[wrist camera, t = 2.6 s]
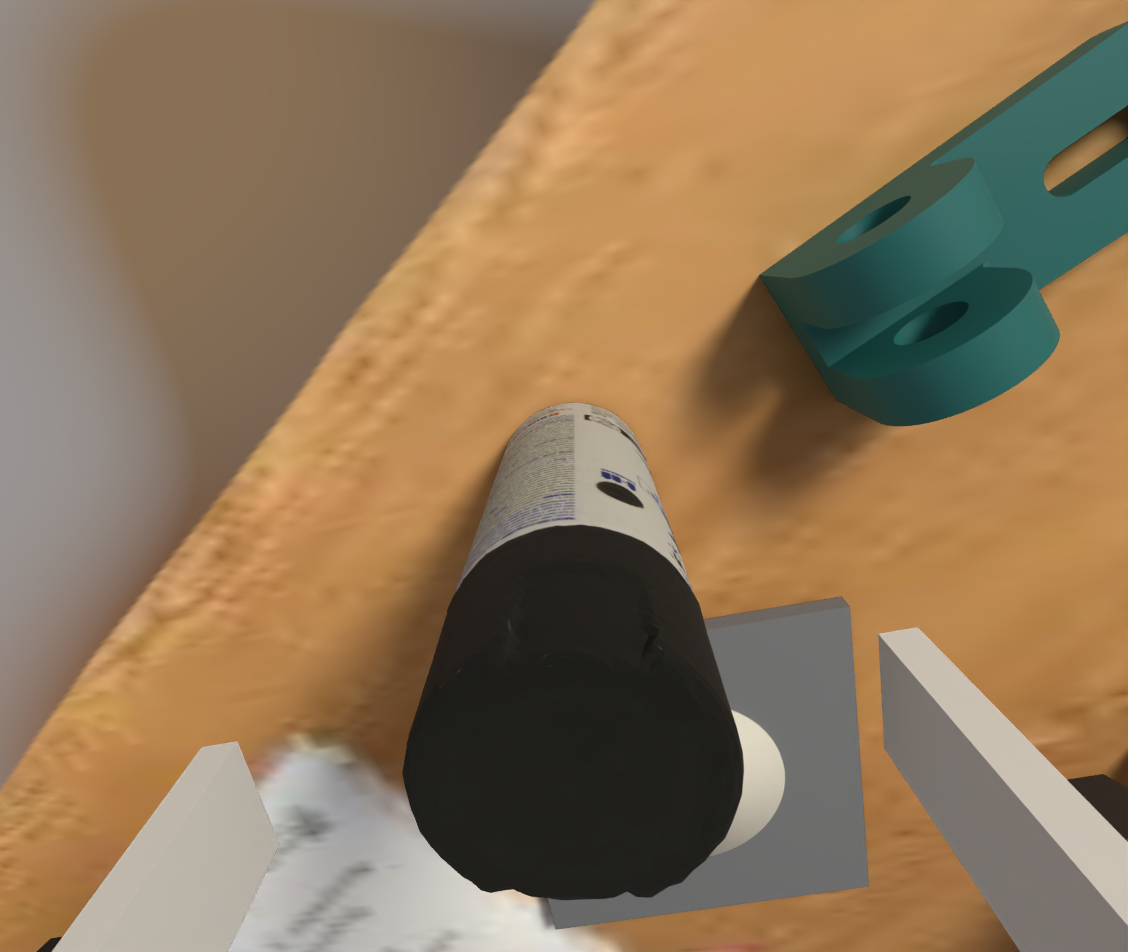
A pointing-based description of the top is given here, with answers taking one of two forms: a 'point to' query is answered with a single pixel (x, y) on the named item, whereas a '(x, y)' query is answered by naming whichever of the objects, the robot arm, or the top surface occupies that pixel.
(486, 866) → the spray can
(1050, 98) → the bracket
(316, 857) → the top surface
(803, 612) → the mat
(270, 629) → the top surface
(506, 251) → the top surface
